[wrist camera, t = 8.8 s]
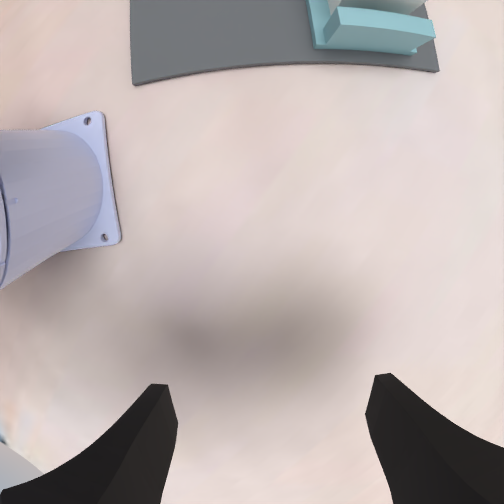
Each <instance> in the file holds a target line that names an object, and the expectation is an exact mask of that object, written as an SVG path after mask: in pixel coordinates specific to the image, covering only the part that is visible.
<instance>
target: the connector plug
mask: <svg viewBox="0 0 504 504" xmlns="http://www.w3.org/2000/svg"><path fill="white" fill-rule="evenodd" d="M327 1H328V5H329V10H330V15H332V14H333V12H334V10H335V9H336V7H337V6H340V7H353V8H363V9H371V10H379V11H386V12H393V13H399V14H404V15H409V14H410V13H411V12H413V11H414V10H415V9H417V8H418V7H419V6H421V5H422V4H423V3H425V2H426V1H427V0H327Z"/></svg>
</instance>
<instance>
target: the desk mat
mask: <svg viewBox="0 0 504 504" xmlns="http://www.w3.org/2000/svg"><path fill="white" fill-rule="evenodd" d="M409 15H410V16H415V17H420V18H424V19H428V15H427V11H426V8H425V4H424V3H423V4H422V5H421V6H419V7H418V8H417V9H415V10H414V11H413V12H411V13H410V14H409ZM130 47H131V71H132V84H133V85H135V86H137V85H141V84H145V83H149V82H154V81H159V80H163V79H168V78H173V77H179V76H184V75H190V74H196V73H202V72H209V71H216V70H223V69H232V68H241V67H251V66H263V65H279V64H307V63H334V64H361V65H377V66H388V67H398V68H407V69H415V70H422V71H429V72H435V73H436V72H439V71H440V70H439V65H438V59H437V54H436V49H435V44H434V40H433V39H432V40H430V41H428V42H426V43H424V44H423V45H421V46H419V47H417V48H416V49H417V53H415V54H413V55H411V56H409V55H402V54H394V53H385V52H374V51H361V50H343V49H314V47H313V41H312V34H311V28H310V23H309V17H308V11H307V6H306V1H305V0H130Z"/></svg>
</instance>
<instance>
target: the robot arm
mask: <svg viewBox="0 0 504 504" xmlns="http://www.w3.org/2000/svg"><path fill="white" fill-rule="evenodd" d="M88 118H91V123H90V124H89V125H87V119H88ZM103 234H106V235H107V236H108V240H105V239H104V237H103ZM120 239H121V232H120V227H119V221H118V216H117V210H116V205H115V199H114V192H113V186H112V179H111V172H110V165H109V157H108V148H107V139H106V129H105V118H104V114H103V113H102V112H100V111H93V112H89V113H86V114H83V115H80V116H76V117H73V118H70V119H67V120H64V121H61V122H59V123H56V124H53V125H50V126H47V127H45V128H42V129H39V130H0V290H1V289H3V288H4V287H5V286H7V285H8V284H10V283H11V282H13V281H14V280H16V279H17V278H19V277H20V276H22V275H23V274H25V273H26V272H28V271H29V270H31V269H32V268H34V267H36V266H37V265H39V264H40V263H42V262H43V261H45V260H47V259H48V258H50V257H51V256H53V255H55V254H56V253H58V252H61V251H69V250H77V249H84V248H92V247H100V246H108V245H114V244H117V243H118V242H119V241H120ZM365 415H366V420H367V424H368V429H369V433H370V437H371V439H372V442H373V445H374V447H375V450H376V453H377V455H378V458H379V461H380V463H381V466H382V468H383V471H384V474H385V476H386V479H387V482H388V485H389V488H390V491H391V495H392V500H393V504H504V448H503V447H500V446H497V445H495V444H493V443H490V442H488V441H486V440H483V439H481V438H479V437H477V436H475V435H473V434H471V433H470V432H468V431H466V430H464V429H463V428H461V427H459V426H458V425H456V424H454V423H453V422H451V421H450V420H448V419H447V418H446V417H444V416H443V415H441V414H440V413H439V412H437V411H436V410H435V409H433V408H432V407H431V406H429V405H428V404H427V403H426V402H424V401H423V400H422V399H421V398H420V397H418V396H417V395H416V394H415V393H414V392H412V391H411V390H410V389H409V388H408V387H407V386H405V385H404V384H403V383H402V382H401V381H400V380H399V379H397V378H396V377H395V376H394V375H393V374H391V373H387V374H380V375H375V378H374V382H373V386H372V390H371V394H370V398H369V402H368V406H367V409H366V413H365ZM177 428H178V421H177V417H176V414H175V410H174V407H173V403H172V399H171V395H170V392H169V388H168V385H164V384H151V385H149V386H148V388H147V389H146V390H145V391H144V392H143V393H142V394H141V395H140V397H139V398H138V399H137V400H136V401H135V402H134V403H133V404H132V406H131V407H130V408H129V409H128V410H127V411H126V412H125V413H124V414H123V415H122V416H121V417H120V418H119V419H118V420H117V421H116V422H115V423H114V424H113V425H112V426H111V427H110V428H109V429H108V430H107V431H106V432H105V433H104V434H103V435H102V436H101V437H100V438H98V439H97V440H96V441H95V442H94V443H93V444H91V445H90V446H89V447H88V448H86V449H85V450H84V451H82V452H81V453H80V454H78V455H77V456H75V457H74V458H72V459H71V460H69V461H67V462H66V463H64V464H63V465H61V466H59V467H58V468H56V469H54V470H52V471H50V472H48V473H46V474H44V475H42V476H40V477H38V478H35V479H33V480H31V481H28V482H25V483H23V484H20V485H17V486H13V487H10V488H7V489H3V490H2V492H1V494H0V504H160V502H161V498H162V493H163V489H164V486H165V482H166V478H167V475H168V471H169V467H170V464H171V460H172V456H173V452H174V448H175V443H176V436H177Z"/></svg>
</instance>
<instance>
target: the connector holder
mask: <svg viewBox="0 0 504 504" xmlns="http://www.w3.org/2000/svg"><path fill="white" fill-rule="evenodd" d="M305 1H306V6H307V11H308V17H309V23H310V28H311V34H312V41H313V47H314V49H343V50H361V51H374V52H385V53H394V54H402V55H409V56H411V55H413V54H415V53H417V49H416V48H417V47H419V46H421V45H423V44H424V43H426V42H428V41H430V40H432V39H434V38H436V35H435V31H434V27H433V23H432V20H429V19H424V18H420V17H415V16H410V15H404V14H399V13H393V12H386V11H379V10H371V9H363V8H353V7H340V6H337V7H336V9H335V10H334V12H333V14H332V15H330V10H329V5H328V1H327V0H305Z"/></svg>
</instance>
